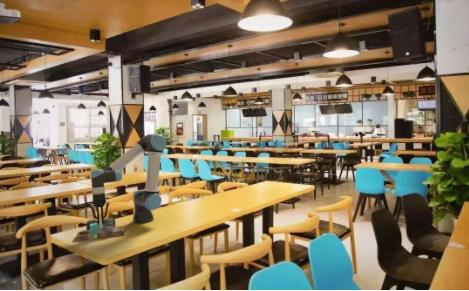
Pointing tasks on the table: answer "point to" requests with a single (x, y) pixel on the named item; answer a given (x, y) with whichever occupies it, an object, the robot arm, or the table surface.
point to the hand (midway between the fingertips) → (101, 228)
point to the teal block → (94, 228)
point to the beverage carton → (96, 222)
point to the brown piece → (101, 231)
